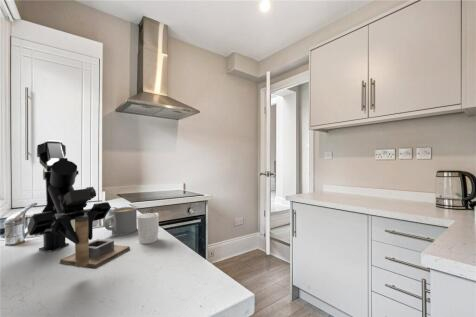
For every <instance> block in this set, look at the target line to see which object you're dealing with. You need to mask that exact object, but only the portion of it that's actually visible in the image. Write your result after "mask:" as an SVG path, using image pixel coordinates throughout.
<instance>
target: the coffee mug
mask: <svg viewBox="0 0 476 317" xmlns="http://www.w3.org/2000/svg"><path fill="white" fill-rule="evenodd" d="M137 216H138V214H137V207H135V206H124V207H117V208H114V209H111V215H110V216H107V217H105V219H104V223H103V225H104V228H105V229H106V231H111V234H112V235H113V234H115V235H114V236H125V234H126V235H130V234H133V233H135V232H138V220H137ZM110 221H111V225H110V226H109V224H110Z"/></svg>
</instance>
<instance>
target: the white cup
mask: <svg viewBox="0 0 476 317" xmlns="http://www.w3.org/2000/svg"><path fill="white" fill-rule="evenodd" d="M159 218H160V214H159V213H156V212H149V213H148V212H147V213H142V214H139V215H137V232H138V242H139V243H140V244H142V245H143V244H144V245H146V244H152V243H155V242H156V241H158V239H159V238H158V236H159V220H160V219H159Z"/></svg>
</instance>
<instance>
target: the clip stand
mask: <svg viewBox="0 0 476 317" xmlns="http://www.w3.org/2000/svg"><path fill="white" fill-rule="evenodd" d="M129 250H131V246H130V245H121V244H115V241H114V240H109V239H100V238H99V239H95V240H93V241H89V264H87V265H85V266H84V267H87V268H94V269H96V268H98V267H100V266H102V265H104V264H105V263H107V262H109V261H112V259H114V258H116V257H119V256H120V255H122V254H124V253H125V252H128V251H129ZM59 264H65V265H66V264H67V265H73V266H76V259H75V252H74V253H72V254H70V255H67V256H64V257H63V258H60V259H59Z"/></svg>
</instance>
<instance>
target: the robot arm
mask: <svg viewBox="0 0 476 317" xmlns="http://www.w3.org/2000/svg"><path fill="white" fill-rule="evenodd" d="M66 146H67V145H65V144H63V141H60V140H45V141H44V142H43V143H40V144H37V145H36V157H37V158H39V163H40V165H41V166H42V167H43V170H42V177H43V178H42V179H43V180H44V181H45V195H46V196H45V198H46V205H45V207H44V208H43V210H41V212H37V213H34V214H33V215H32V216H31V217H30V220H29V222H28V224H27V232H28V235H30V236H36V235H39V236H41V235H43V246H42V247H39V248H38V250H39V251H45V252H46V251H47V252H54V251H56V250H59V249H61V248H64V247H65V248H66V247H67V246H69V245H70V243H68V242H66V239H67V240H69V241H70V242H72V243H74V244H78V243H79V240H78V237H77V235H76V233H75V228H74V227H73V225H72V221H75V217H78V216H88V232H89V241H91V240H93V234H94V233H93V226H94V225H93V222H94V221H95V222H96V221H99V220H103V219H104V218H105V219H106V216H107V215H108V213H109V212H110V210H111V209H112V207H111V205H110V203H109V201H102V202H97V203H95V202H94V204H93V205H92V207H91V208H87V209H84V208H86V207H87V206H88V203H87V202H89V201H91V200H92V199H94V198H95V197H96V196H97V191H96V190H95V188H94V187H93V186H89V187H85V188H83V189H82V188H81V189H75V188H74V186H73V185H74V184H75V182H76V177H77V175H79V170H78V166H77V165H76V163H74V162H73V161H72V160H68V158H67V157H66V156H67V152H66V151H67V150H66Z"/></svg>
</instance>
